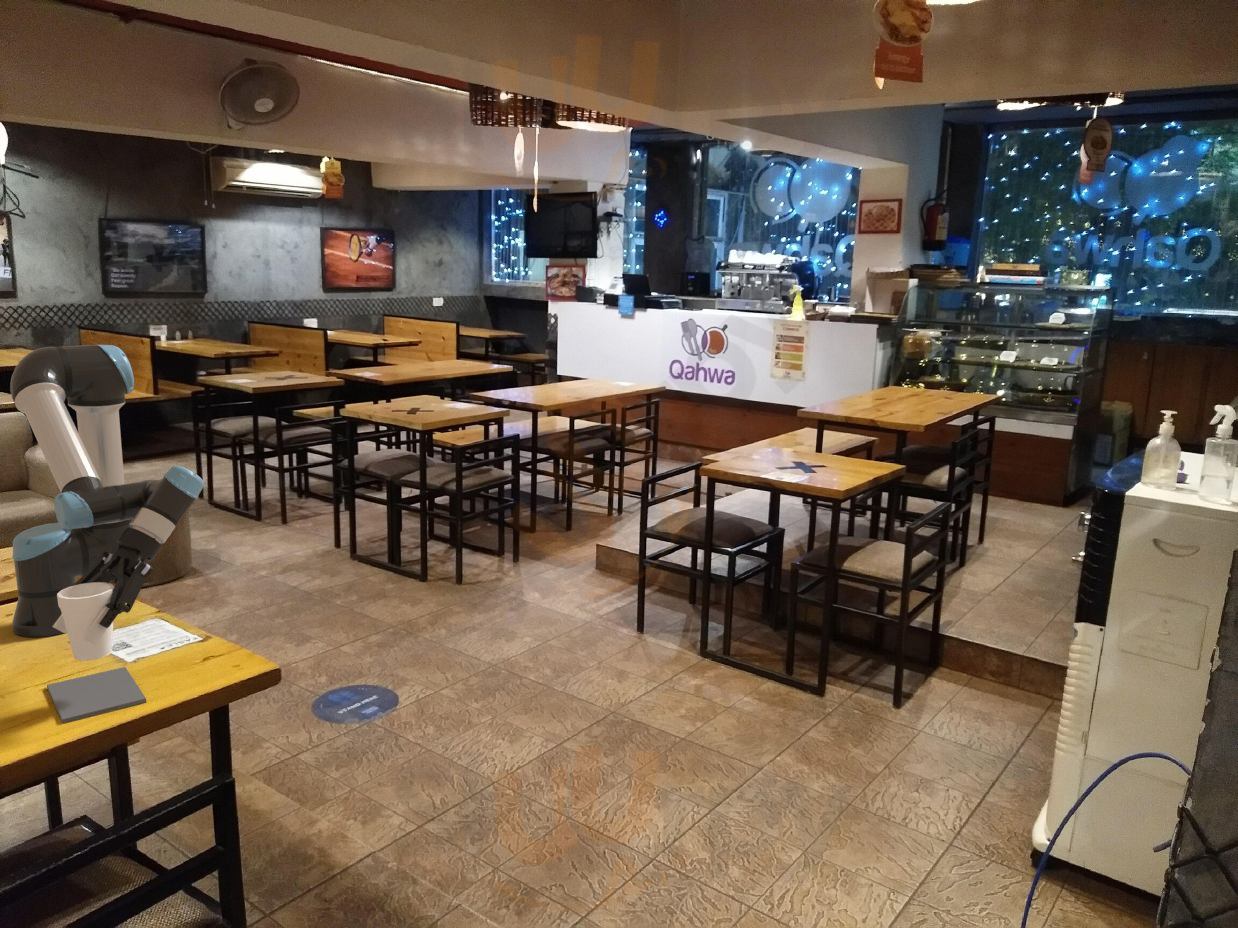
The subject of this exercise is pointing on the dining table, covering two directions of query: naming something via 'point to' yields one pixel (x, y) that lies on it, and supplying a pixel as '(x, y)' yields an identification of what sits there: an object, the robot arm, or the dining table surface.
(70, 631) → the foam cup
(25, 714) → the dining table surface
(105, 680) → the rubber mat
